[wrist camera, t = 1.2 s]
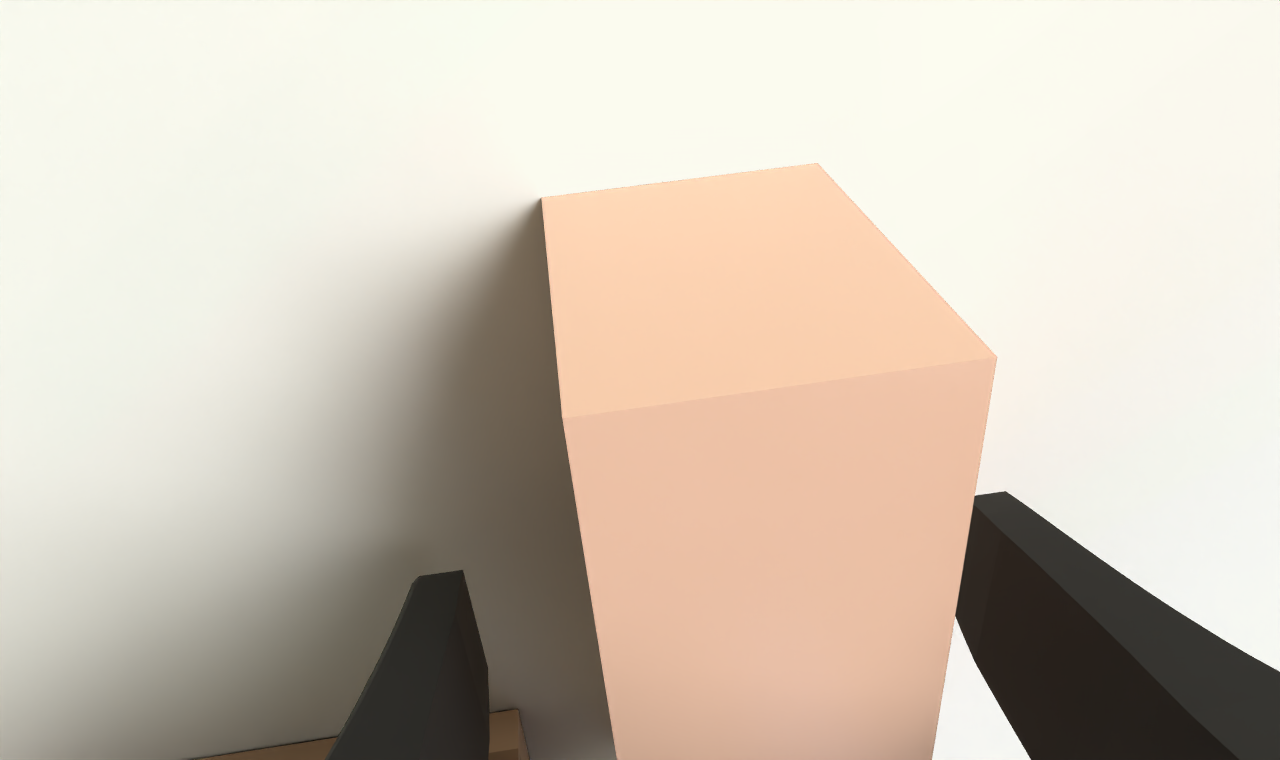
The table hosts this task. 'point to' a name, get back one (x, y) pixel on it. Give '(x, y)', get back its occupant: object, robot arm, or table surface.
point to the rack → (504, 745)
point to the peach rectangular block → (763, 465)
